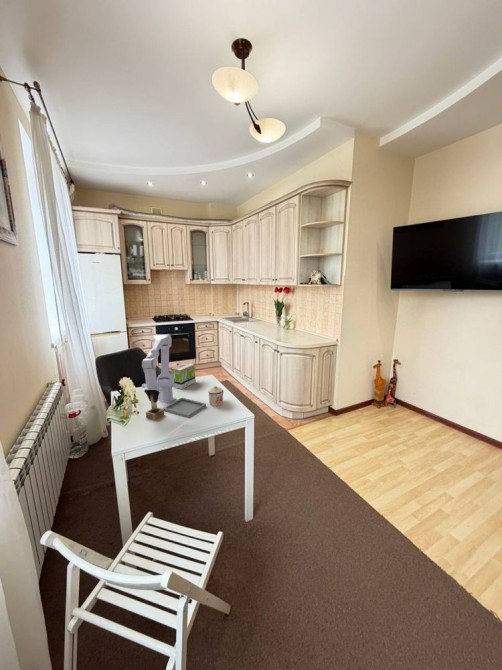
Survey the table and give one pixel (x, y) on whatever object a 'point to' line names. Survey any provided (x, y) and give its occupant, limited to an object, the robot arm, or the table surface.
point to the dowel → (153, 405)
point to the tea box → (183, 375)
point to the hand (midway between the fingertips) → (153, 401)
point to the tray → (184, 407)
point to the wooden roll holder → (155, 413)
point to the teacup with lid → (215, 396)
